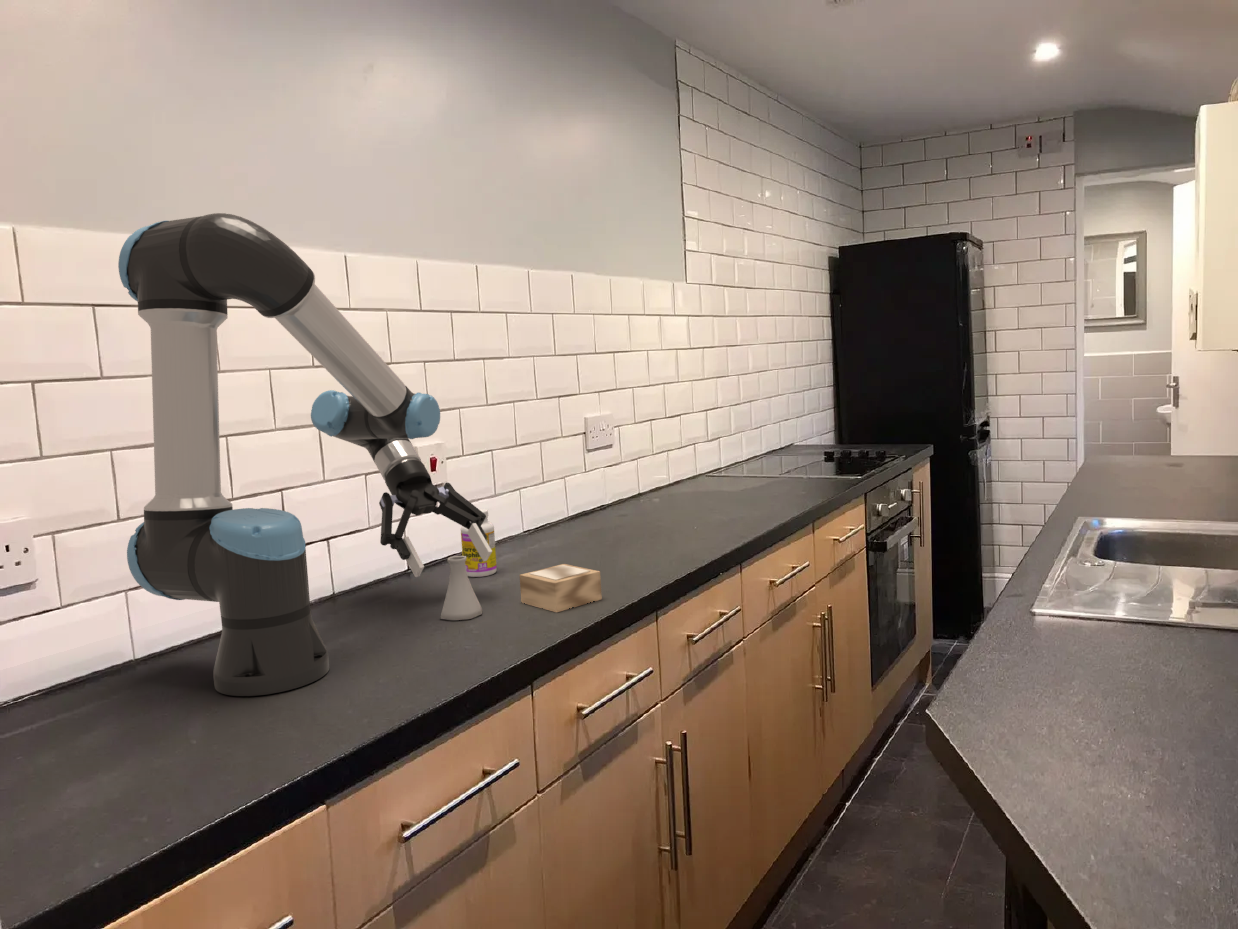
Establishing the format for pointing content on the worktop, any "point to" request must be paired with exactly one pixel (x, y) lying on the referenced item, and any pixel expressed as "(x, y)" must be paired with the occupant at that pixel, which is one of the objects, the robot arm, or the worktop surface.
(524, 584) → the oak plinth
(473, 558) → the supplement bottle
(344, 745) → the worktop surface
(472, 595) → the flask
